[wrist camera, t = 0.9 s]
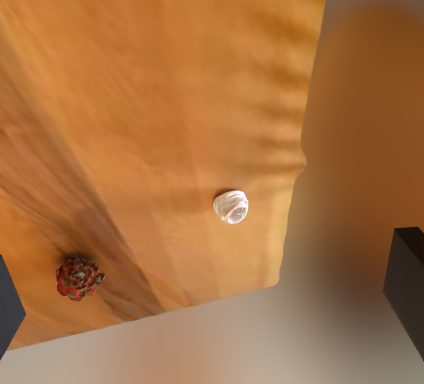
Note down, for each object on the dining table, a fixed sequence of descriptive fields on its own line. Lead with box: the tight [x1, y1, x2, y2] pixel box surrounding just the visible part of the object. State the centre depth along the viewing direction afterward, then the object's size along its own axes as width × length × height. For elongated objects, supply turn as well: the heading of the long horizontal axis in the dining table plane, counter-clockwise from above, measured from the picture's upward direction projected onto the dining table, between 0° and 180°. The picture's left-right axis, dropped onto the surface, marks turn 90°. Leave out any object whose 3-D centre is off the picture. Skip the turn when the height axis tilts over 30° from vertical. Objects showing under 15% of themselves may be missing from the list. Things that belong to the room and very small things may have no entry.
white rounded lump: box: [213, 190, 248, 224], centre depth 71 cm, size 8×7×5 cm
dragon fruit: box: [56, 258, 105, 301], centre depth 76 cm, size 8×8×12 cm
